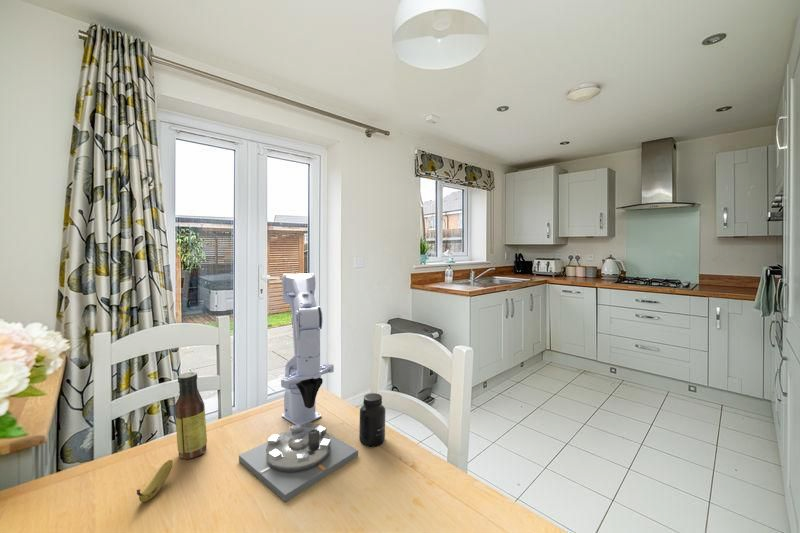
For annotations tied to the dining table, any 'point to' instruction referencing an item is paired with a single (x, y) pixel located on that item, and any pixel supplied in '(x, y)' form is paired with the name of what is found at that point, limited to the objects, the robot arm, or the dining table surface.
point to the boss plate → (296, 482)
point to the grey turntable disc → (298, 448)
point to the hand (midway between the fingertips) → (309, 406)
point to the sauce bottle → (190, 418)
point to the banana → (156, 482)
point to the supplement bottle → (372, 421)
